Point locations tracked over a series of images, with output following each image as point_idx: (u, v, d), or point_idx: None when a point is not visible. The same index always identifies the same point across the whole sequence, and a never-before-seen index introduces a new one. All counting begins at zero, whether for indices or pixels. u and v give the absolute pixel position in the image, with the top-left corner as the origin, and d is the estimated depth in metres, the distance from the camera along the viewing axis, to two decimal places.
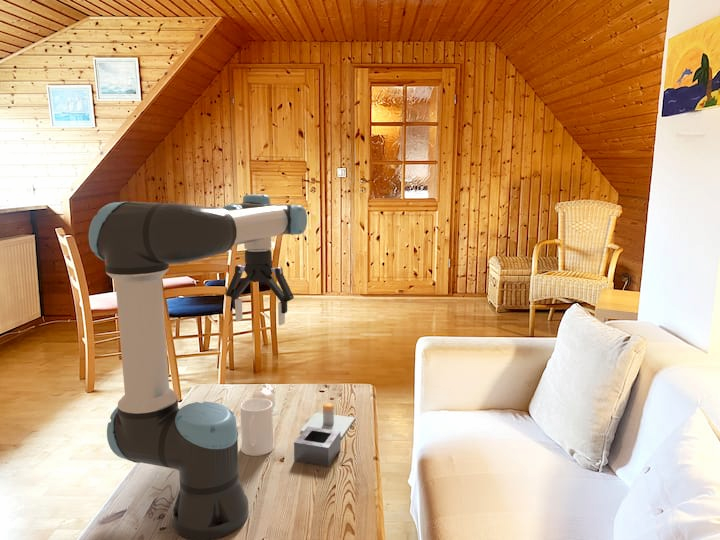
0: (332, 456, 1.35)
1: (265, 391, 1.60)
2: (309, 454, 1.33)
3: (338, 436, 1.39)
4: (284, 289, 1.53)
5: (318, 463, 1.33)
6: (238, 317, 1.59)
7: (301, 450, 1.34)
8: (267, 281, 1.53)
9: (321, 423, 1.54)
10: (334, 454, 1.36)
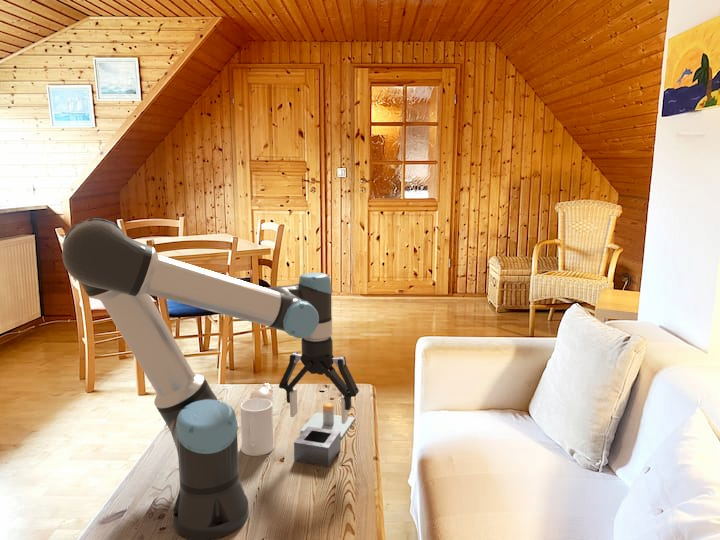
0: (332, 456, 1.35)
1: (263, 390, 1.60)
2: (309, 454, 1.33)
3: (338, 436, 1.39)
4: (348, 383, 1.31)
5: (318, 463, 1.33)
6: (293, 412, 1.37)
7: (301, 450, 1.34)
8: (328, 374, 1.32)
9: (321, 423, 1.54)
10: (334, 454, 1.36)
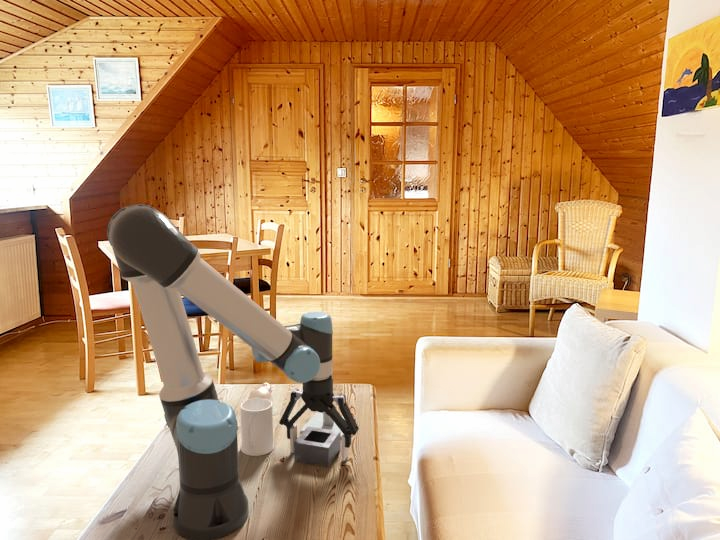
0: (332, 456, 1.35)
1: (262, 390, 1.60)
2: (309, 454, 1.33)
3: (338, 436, 1.39)
4: (349, 422, 1.33)
5: (318, 463, 1.33)
6: (293, 448, 1.39)
7: (301, 450, 1.34)
8: (329, 412, 1.33)
9: (321, 423, 1.54)
10: (334, 454, 1.36)
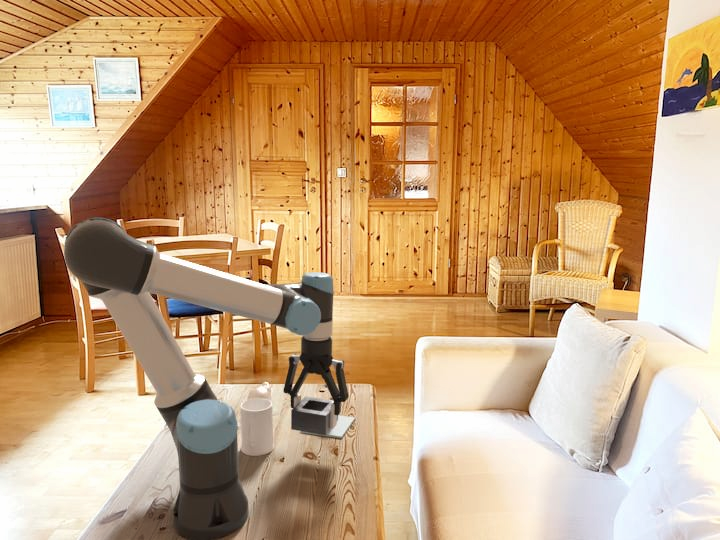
0: None
1: (261, 389, 1.61)
2: (306, 422, 1.32)
3: None
4: (341, 388, 1.31)
5: (315, 431, 1.31)
6: None
7: (298, 418, 1.32)
8: (324, 376, 1.32)
9: None
10: None
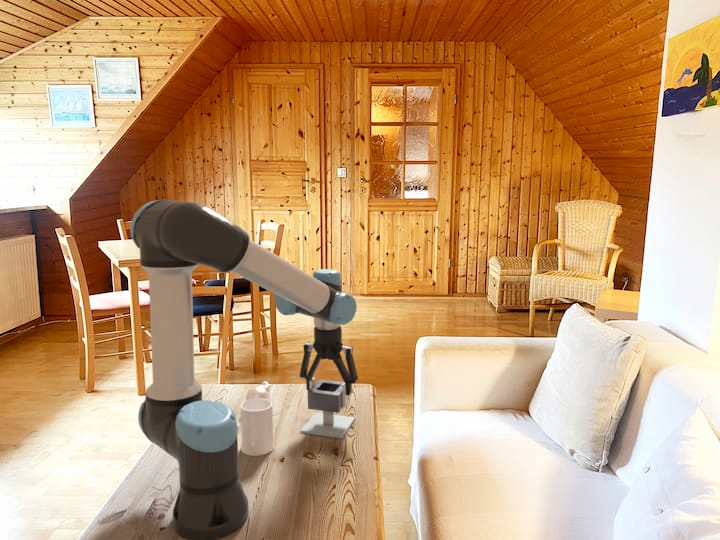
0: (342, 404, 1.50)
1: (259, 389, 1.61)
2: (321, 402, 1.48)
3: None
4: (351, 371, 1.48)
5: (329, 410, 1.48)
6: None
7: (314, 398, 1.49)
8: (336, 360, 1.48)
9: (321, 423, 1.54)
10: None
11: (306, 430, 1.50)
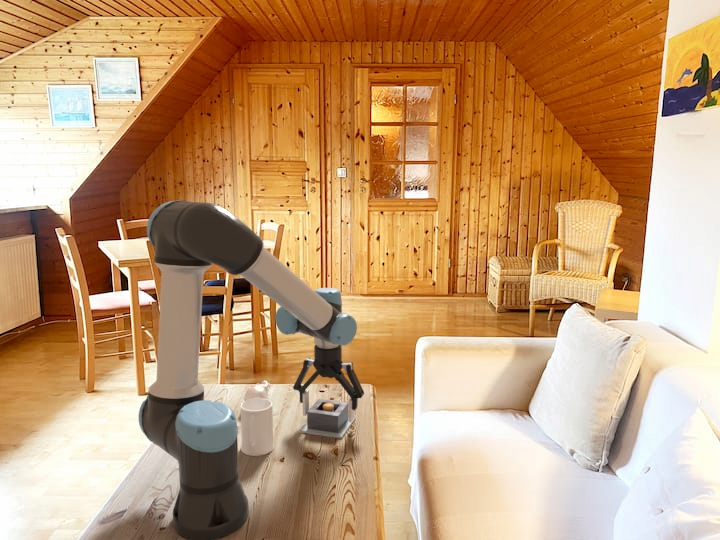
0: (341, 424, 1.51)
1: (257, 388, 1.62)
2: (320, 422, 1.49)
3: (346, 407, 1.55)
4: (355, 386, 1.48)
5: (329, 430, 1.49)
6: (305, 411, 1.54)
7: (313, 418, 1.50)
8: (338, 377, 1.49)
9: None
10: (343, 422, 1.52)
11: (306, 430, 1.50)
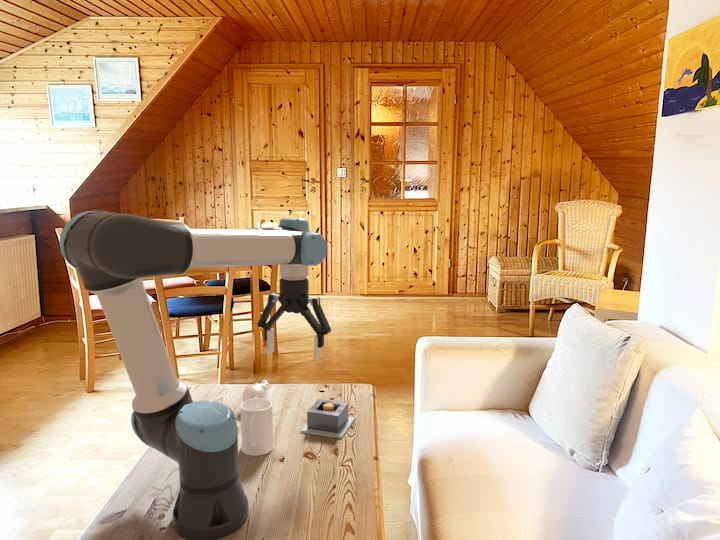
0: (341, 424, 1.51)
1: (255, 387, 1.63)
2: (320, 422, 1.49)
3: (346, 407, 1.55)
4: (321, 321, 1.40)
5: (329, 430, 1.49)
6: (270, 350, 1.46)
7: (313, 418, 1.50)
8: (303, 312, 1.41)
9: None
10: (343, 422, 1.52)
11: (306, 430, 1.50)
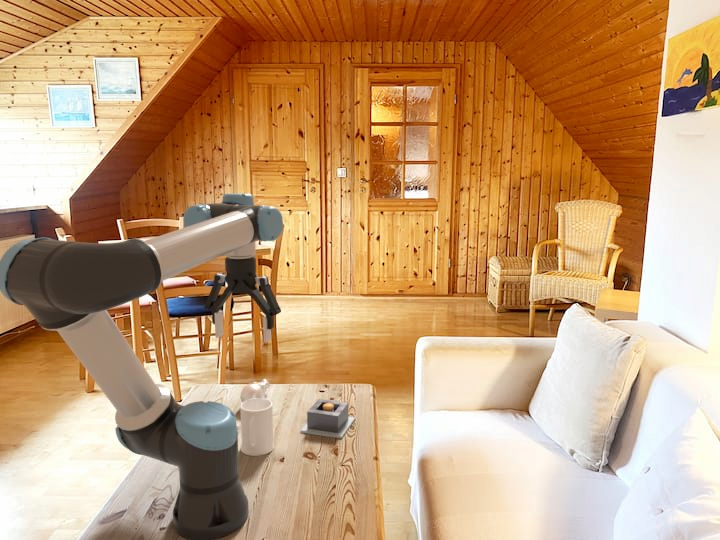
0: (341, 424, 1.51)
1: (253, 386, 1.63)
2: (320, 422, 1.49)
3: (346, 407, 1.55)
4: (270, 302, 1.33)
5: (329, 430, 1.49)
6: (218, 333, 1.39)
7: (313, 418, 1.50)
8: (250, 292, 1.34)
9: None
10: (343, 422, 1.52)
11: (306, 430, 1.50)
